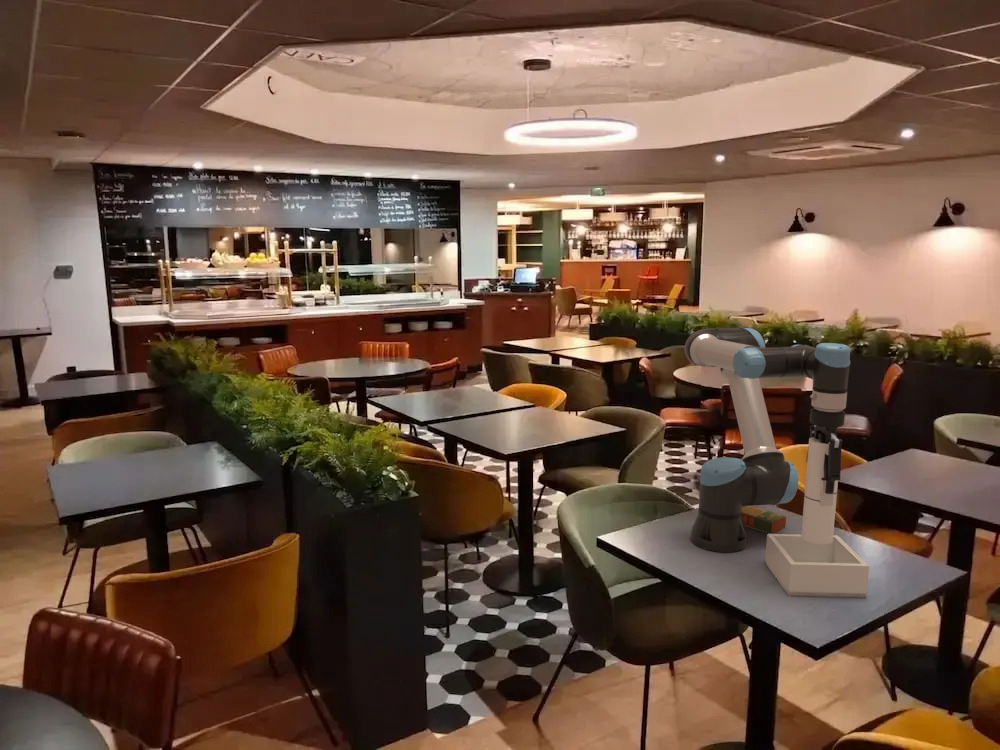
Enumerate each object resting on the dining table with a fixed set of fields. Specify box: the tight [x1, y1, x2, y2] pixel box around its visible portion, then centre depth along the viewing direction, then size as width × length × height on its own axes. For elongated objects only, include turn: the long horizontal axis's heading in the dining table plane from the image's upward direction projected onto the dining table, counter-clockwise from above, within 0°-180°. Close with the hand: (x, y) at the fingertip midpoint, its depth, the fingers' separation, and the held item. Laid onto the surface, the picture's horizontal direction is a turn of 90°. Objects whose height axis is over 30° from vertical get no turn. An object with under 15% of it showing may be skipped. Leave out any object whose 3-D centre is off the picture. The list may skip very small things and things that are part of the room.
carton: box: [742, 505, 787, 534], centre depth 216 cm, size 8×16×4 cm, turn 41°
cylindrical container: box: [800, 437, 839, 544], centre depth 176 cm, size 7×7×25 cm
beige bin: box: [764, 533, 870, 599], centre depth 179 cm, size 18×18×8 cm
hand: (820, 499), depth 176 cm, fingers closed on cylindrical container, 7 cm apart
